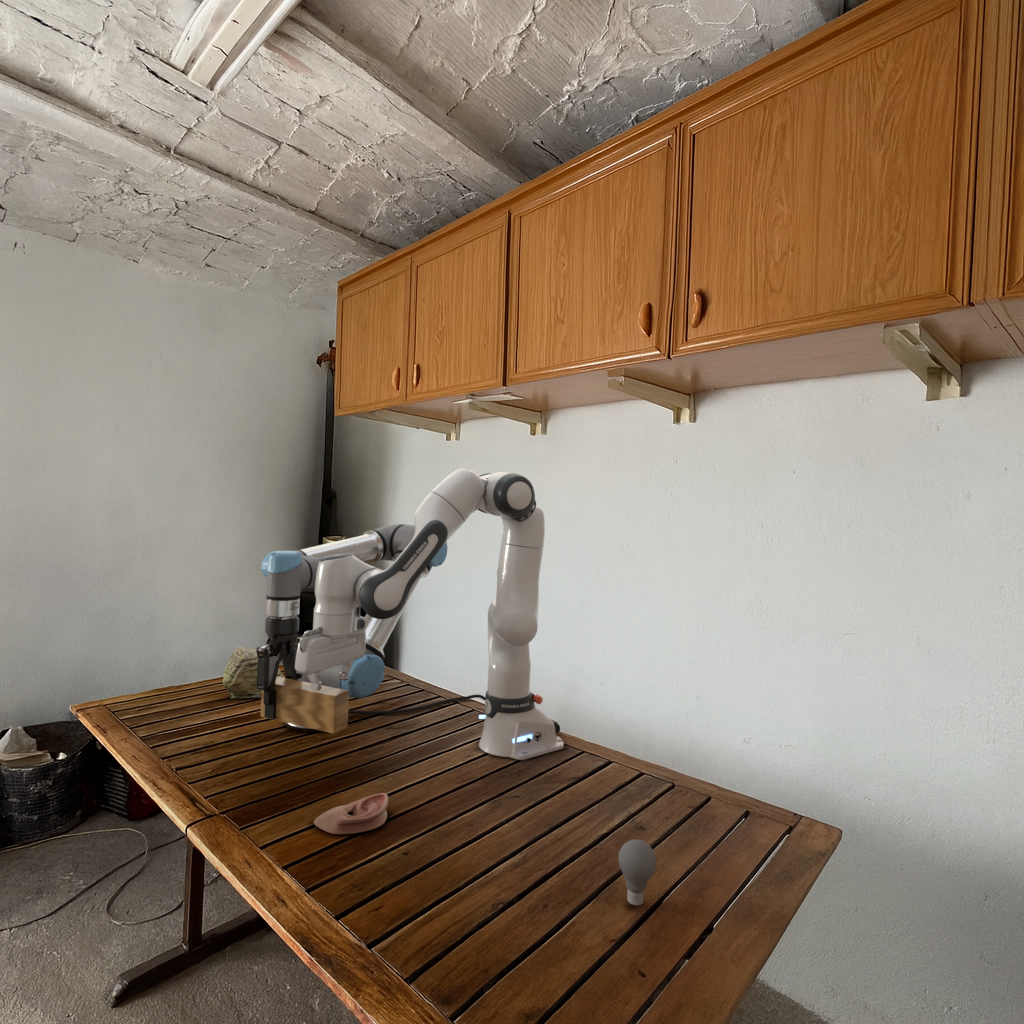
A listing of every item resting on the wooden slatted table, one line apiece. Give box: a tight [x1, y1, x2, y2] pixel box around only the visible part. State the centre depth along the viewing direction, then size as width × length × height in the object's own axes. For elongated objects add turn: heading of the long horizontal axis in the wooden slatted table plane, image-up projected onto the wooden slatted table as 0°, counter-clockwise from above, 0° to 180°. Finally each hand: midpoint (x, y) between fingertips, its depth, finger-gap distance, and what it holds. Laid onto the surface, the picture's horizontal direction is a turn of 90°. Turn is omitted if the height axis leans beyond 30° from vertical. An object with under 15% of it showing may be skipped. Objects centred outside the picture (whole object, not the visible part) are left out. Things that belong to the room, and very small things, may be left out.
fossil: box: [222, 646, 285, 699], centre depth 198 cm, size 9×18×15 cm, turn 132°
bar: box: [260, 676, 350, 735], centre depth 147 cm, size 22×5×8 cm, turn 66°
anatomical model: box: [313, 792, 389, 835], centre depth 124 cm, size 13×4×12 cm
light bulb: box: [618, 838, 657, 906], centre depth 102 cm, size 6×6×10 cm
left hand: (279, 713), depth 150 cm, fingers closed on bar, 5 cm apart
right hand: (330, 685), depth 144 cm, fingers open, 8 cm apart
